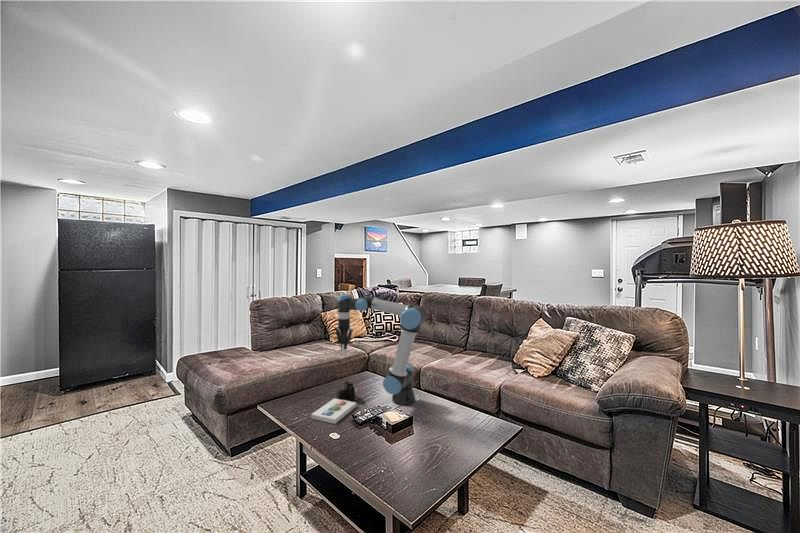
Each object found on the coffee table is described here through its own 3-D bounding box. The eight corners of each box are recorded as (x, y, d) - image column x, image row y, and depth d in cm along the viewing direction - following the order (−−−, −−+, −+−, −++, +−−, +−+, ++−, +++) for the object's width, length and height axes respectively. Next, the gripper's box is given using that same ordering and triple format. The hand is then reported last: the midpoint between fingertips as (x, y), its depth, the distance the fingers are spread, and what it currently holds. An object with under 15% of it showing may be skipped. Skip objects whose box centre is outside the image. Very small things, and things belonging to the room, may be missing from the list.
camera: (334, 395, 225) (334, 381, 224) (349, 393, 229) (349, 378, 229) (340, 404, 212) (340, 388, 212) (356, 401, 217) (356, 385, 217)
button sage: (340, 408, 202) (340, 403, 202) (335, 412, 197) (335, 407, 197) (333, 407, 204) (333, 402, 203) (329, 410, 199) (329, 405, 199)
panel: (356, 406, 209) (356, 402, 209) (335, 423, 186) (335, 419, 186) (334, 402, 215) (334, 398, 214) (311, 418, 192) (311, 414, 192)
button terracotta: (346, 406, 208) (346, 401, 208) (342, 409, 204) (342, 404, 204) (339, 404, 210) (339, 399, 210) (335, 407, 206) (335, 402, 206)
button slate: (333, 415, 195) (333, 410, 195) (329, 419, 191) (329, 414, 191) (326, 414, 197) (326, 409, 197) (322, 417, 193) (322, 412, 192)
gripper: (355, 318, 221) (355, 353, 222) (338, 316, 226) (338, 351, 227) (349, 319, 214) (349, 356, 215) (332, 318, 219) (332, 354, 220)
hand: (343, 353), depth 221 cm, fingers closed
